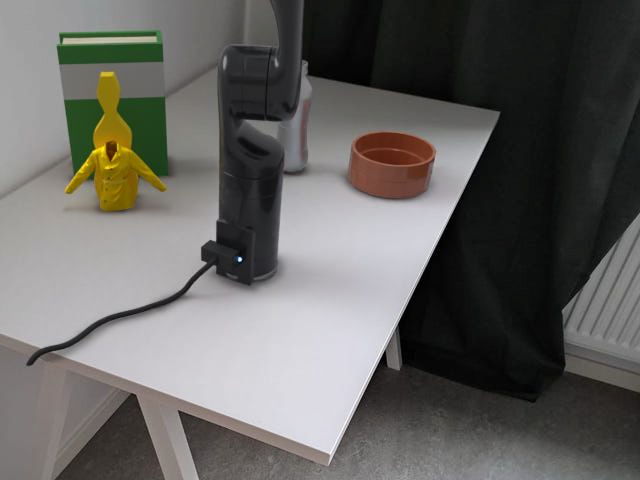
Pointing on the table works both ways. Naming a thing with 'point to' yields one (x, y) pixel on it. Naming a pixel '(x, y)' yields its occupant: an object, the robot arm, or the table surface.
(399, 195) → the bowl
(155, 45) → the hardback book
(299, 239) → the table surface
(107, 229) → the table surface
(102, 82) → the yellow jacket
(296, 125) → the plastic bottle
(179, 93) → the table surface
